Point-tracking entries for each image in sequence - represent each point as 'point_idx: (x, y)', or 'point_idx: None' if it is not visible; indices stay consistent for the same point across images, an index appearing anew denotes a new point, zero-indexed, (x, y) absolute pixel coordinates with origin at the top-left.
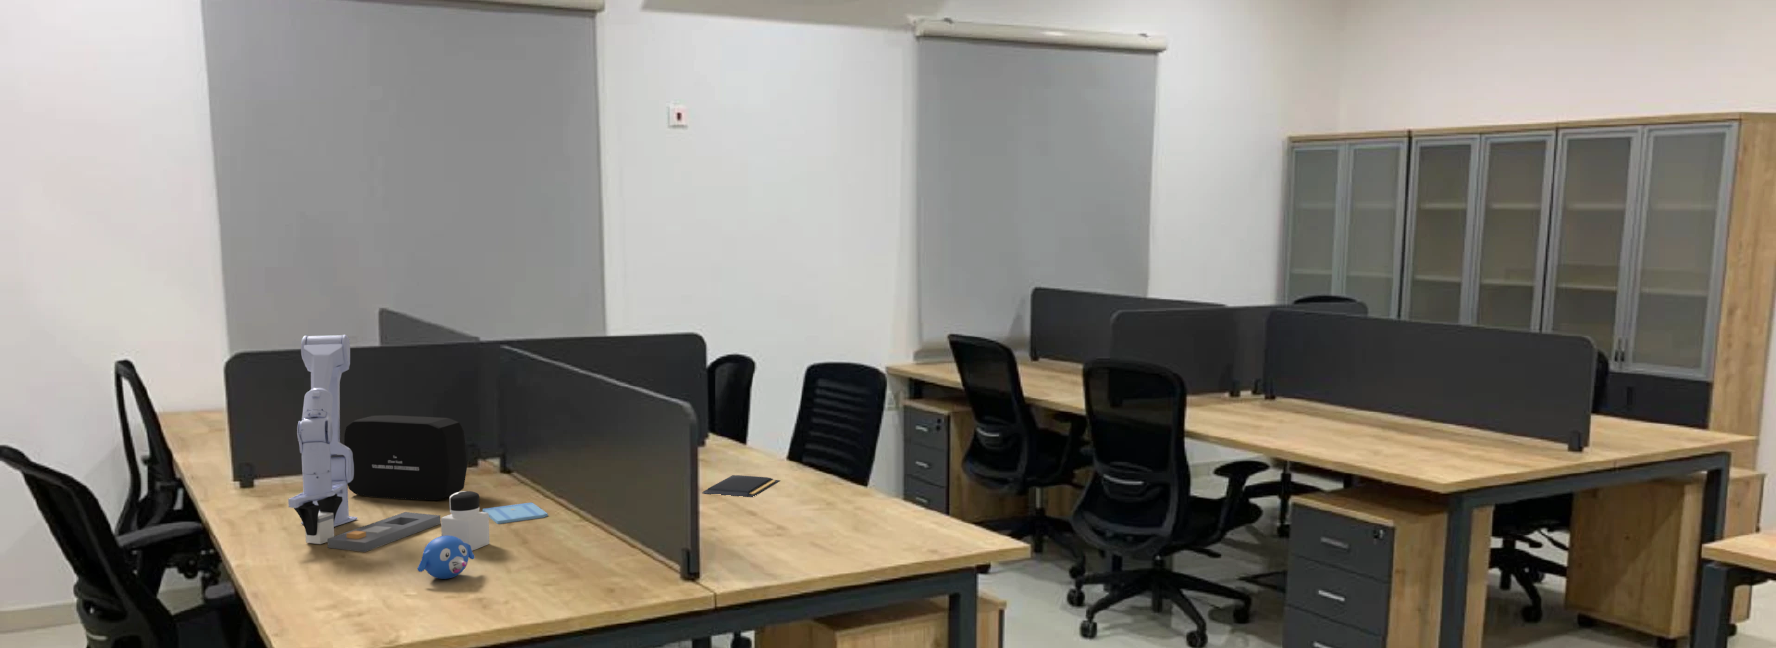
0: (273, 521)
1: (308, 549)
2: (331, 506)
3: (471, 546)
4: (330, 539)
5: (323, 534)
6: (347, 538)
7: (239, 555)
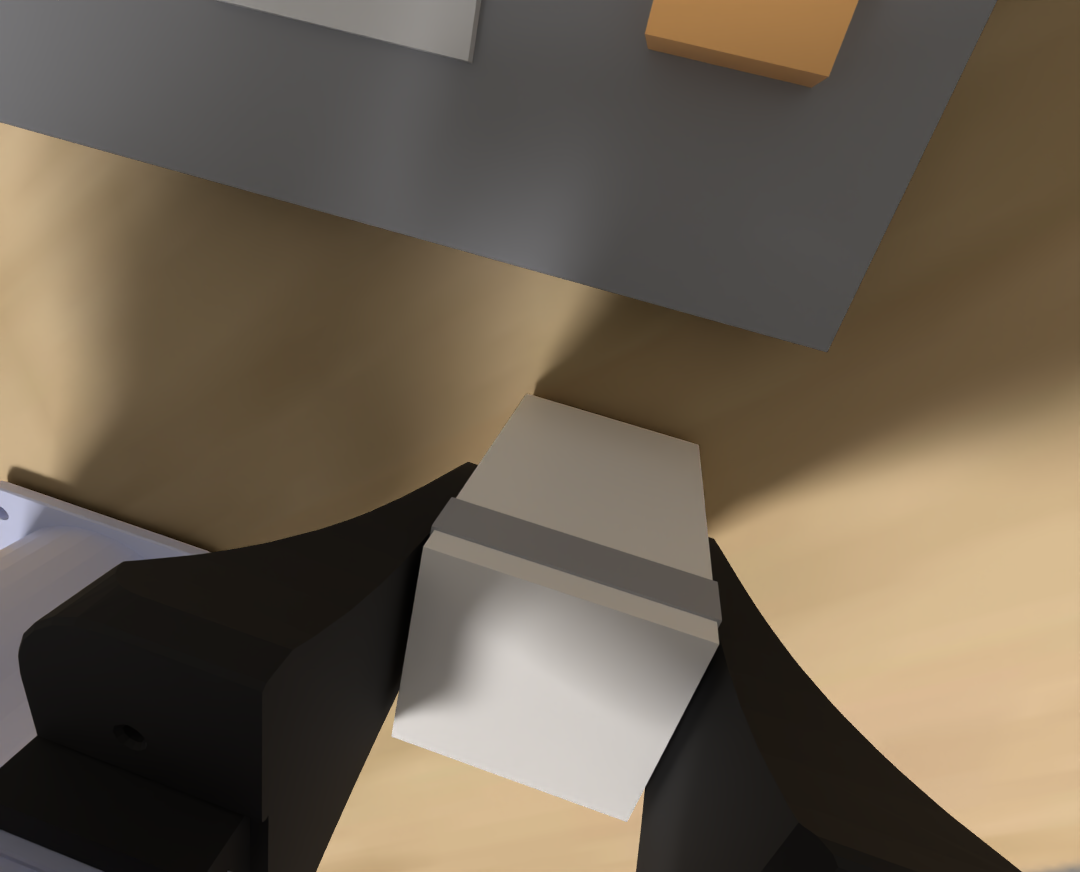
0: None
1: (840, 487)
2: (357, 648)
3: None
4: (846, 305)
5: (650, 472)
6: (849, 51)
7: None
